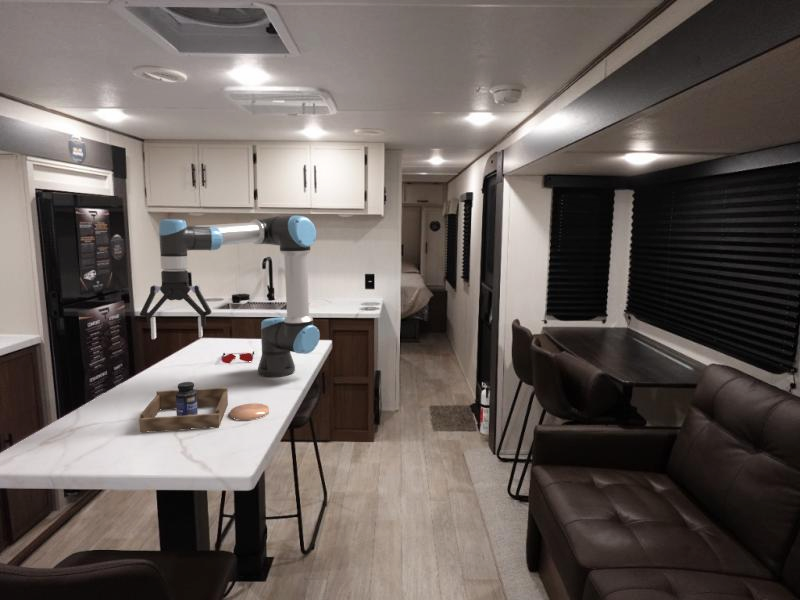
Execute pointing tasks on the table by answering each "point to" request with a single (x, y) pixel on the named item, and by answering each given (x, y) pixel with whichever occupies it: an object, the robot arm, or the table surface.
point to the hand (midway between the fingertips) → (177, 337)
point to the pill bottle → (186, 399)
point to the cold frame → (187, 421)
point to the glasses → (230, 357)
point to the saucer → (249, 411)
